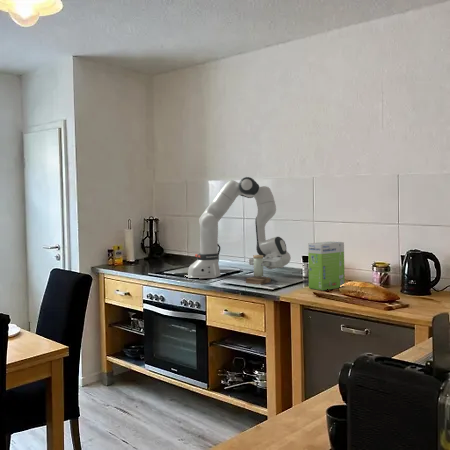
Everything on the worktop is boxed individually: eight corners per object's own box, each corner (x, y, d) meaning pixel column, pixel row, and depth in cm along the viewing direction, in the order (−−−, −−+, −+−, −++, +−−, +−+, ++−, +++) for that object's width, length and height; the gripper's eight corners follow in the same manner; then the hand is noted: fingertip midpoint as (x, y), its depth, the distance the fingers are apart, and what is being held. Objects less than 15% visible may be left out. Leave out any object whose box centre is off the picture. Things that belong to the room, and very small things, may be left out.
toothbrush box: (330, 284, 283) (330, 240, 281) (345, 287, 274) (345, 242, 273) (307, 288, 272) (307, 243, 271) (322, 291, 264) (322, 244, 262)
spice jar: (256, 276, 290) (255, 256, 289) (251, 275, 295) (251, 255, 295) (265, 276, 292) (265, 255, 291) (261, 274, 297) (260, 254, 297)
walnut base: (260, 284, 287) (260, 280, 286) (246, 282, 293) (246, 278, 293) (270, 282, 294) (270, 277, 294) (256, 280, 301) (256, 276, 301)
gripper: (257, 254, 309) (242, 257, 299) (285, 257, 296) (271, 259, 286) (257, 265, 310) (243, 268, 299) (285, 267, 297) (272, 271, 286)
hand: (257, 264), depth 292 cm, fingers closed on spice jar, 5 cm apart
